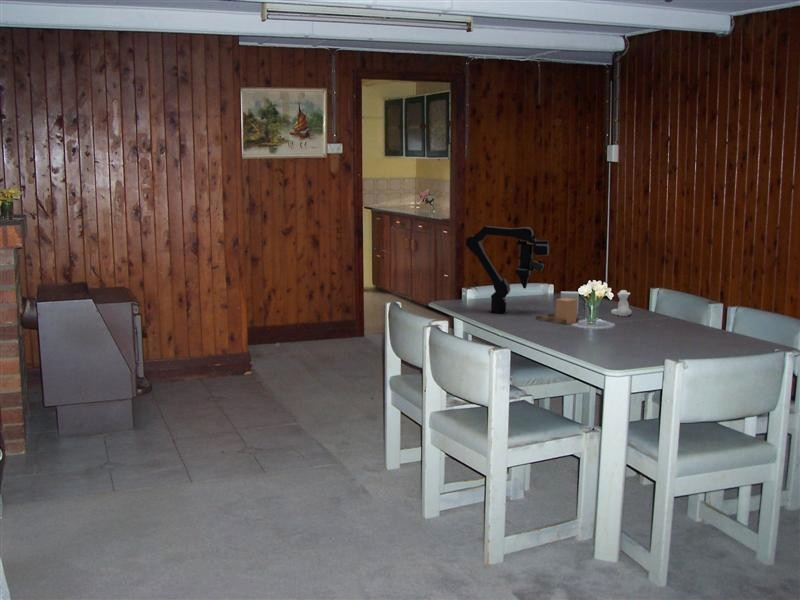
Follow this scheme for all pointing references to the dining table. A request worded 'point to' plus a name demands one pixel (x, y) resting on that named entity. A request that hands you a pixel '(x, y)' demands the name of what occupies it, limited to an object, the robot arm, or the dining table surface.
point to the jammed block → (566, 309)
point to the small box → (570, 296)
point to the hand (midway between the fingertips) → (524, 288)
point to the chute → (553, 319)
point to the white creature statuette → (622, 304)
